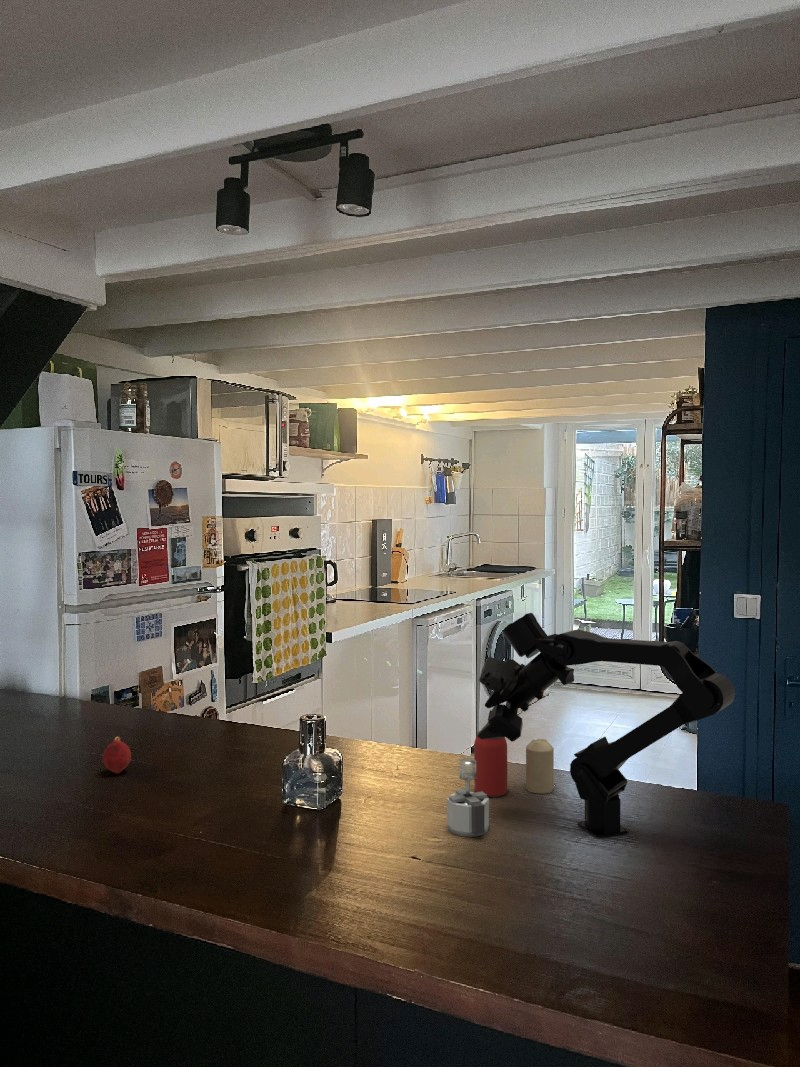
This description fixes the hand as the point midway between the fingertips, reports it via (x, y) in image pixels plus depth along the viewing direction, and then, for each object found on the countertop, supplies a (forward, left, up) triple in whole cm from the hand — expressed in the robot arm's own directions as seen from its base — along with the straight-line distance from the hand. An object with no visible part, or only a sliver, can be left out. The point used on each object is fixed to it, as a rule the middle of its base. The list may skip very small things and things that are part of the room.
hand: (482, 721), depth 160 cm
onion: (+43, +67, -15) cm, 81 cm away
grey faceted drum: (-12, +9, -15) cm, 22 cm away
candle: (+1, -13, -15) cm, 20 cm away
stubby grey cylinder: (-12, +9, -11) cm, 19 cm away
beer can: (+3, -3, -15) cm, 16 cm away
